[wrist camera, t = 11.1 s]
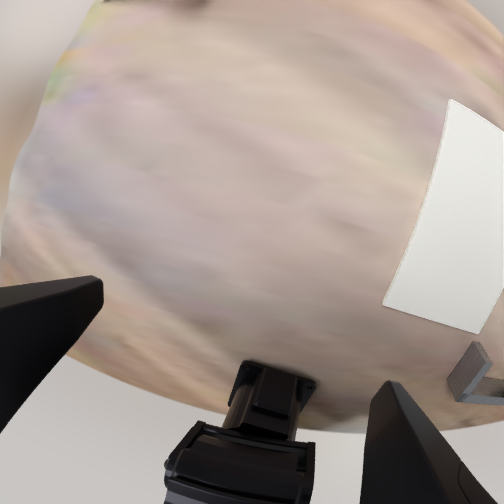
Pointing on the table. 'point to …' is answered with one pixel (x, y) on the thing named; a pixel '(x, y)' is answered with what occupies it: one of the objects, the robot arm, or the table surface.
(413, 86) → the table surface
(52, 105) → the table surface
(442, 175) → the felt pad
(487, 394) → the cradle stand
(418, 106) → the table surface
